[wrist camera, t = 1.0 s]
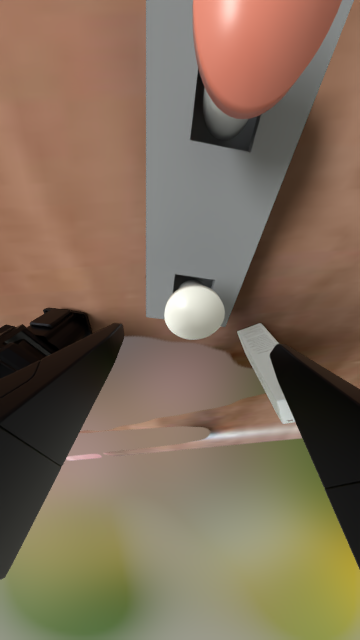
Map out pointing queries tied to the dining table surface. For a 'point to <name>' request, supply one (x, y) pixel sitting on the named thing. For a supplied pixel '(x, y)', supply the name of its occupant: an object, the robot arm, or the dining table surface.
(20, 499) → the robot arm
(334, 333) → the dining table surface
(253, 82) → the red plunger
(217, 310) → the white plunger
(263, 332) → the skincare box
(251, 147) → the block
